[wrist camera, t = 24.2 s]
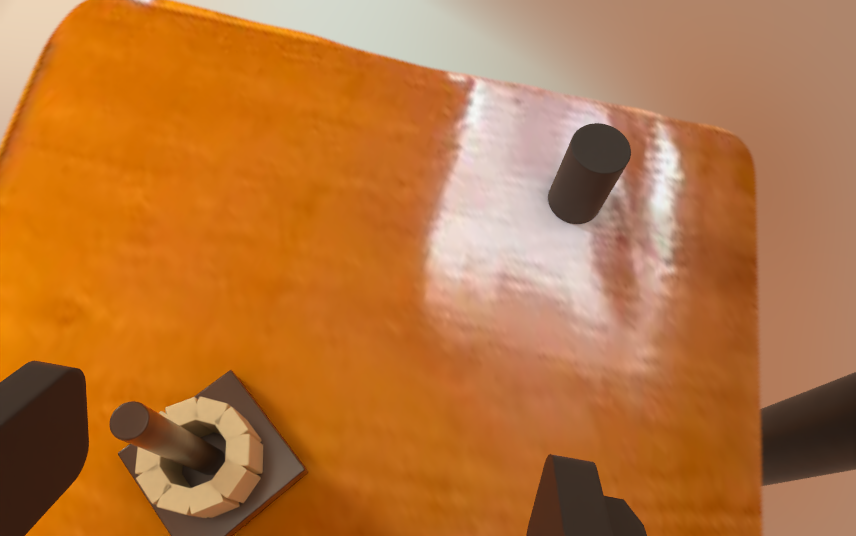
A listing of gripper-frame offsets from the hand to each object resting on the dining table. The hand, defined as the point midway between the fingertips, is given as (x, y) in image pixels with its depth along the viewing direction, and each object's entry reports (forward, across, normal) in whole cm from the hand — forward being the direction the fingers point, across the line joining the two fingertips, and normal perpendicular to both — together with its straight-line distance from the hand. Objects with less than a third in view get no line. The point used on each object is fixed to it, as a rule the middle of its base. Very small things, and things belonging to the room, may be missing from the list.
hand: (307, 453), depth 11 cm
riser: (+39, -10, +4) cm, 41 cm away
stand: (+23, +10, +20) cm, 32 cm away
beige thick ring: (+22, +10, +19) cm, 31 cm away
